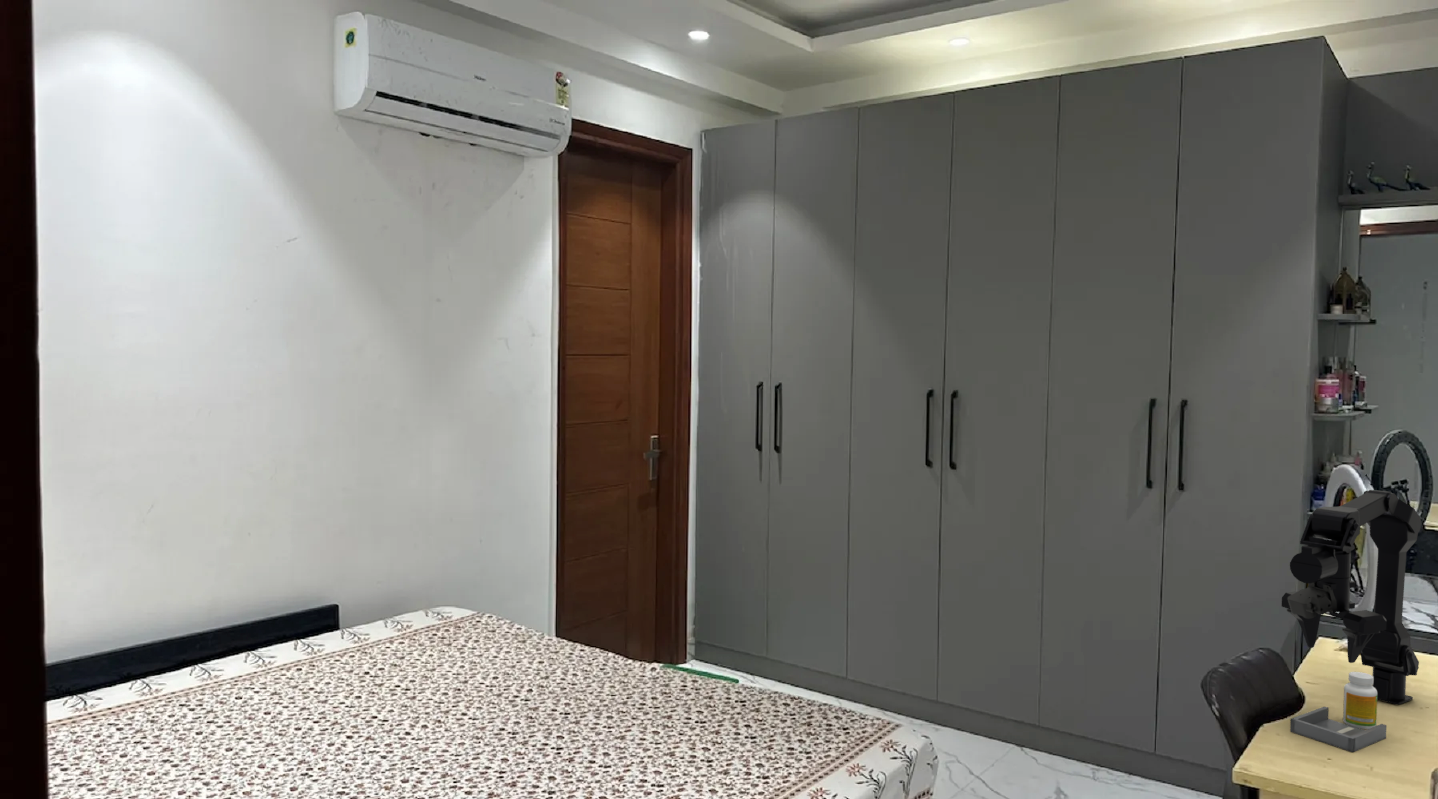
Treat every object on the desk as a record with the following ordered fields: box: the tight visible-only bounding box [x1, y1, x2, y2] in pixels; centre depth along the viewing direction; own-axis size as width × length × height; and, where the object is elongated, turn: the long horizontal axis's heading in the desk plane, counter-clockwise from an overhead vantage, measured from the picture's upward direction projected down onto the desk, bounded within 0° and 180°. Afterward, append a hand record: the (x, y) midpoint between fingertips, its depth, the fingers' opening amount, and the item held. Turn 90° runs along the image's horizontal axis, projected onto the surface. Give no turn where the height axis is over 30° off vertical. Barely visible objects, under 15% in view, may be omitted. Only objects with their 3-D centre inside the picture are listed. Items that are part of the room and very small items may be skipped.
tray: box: [1289, 706, 1387, 753], centre depth 182 cm, size 12×11×2 cm
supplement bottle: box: [1342, 671, 1378, 730], centre depth 187 cm, size 5×5×10 cm
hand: (1330, 654), depth 187 cm, fingers open, 9 cm apart
